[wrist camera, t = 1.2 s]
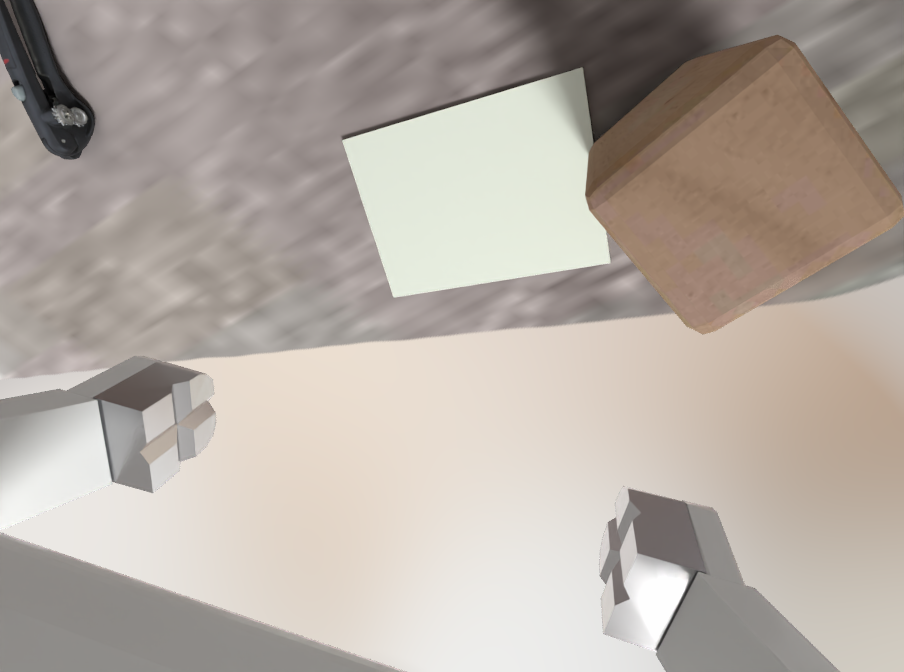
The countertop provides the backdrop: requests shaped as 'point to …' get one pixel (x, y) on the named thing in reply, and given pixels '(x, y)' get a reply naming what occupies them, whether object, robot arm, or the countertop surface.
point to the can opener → (55, 107)
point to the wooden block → (737, 182)
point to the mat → (482, 189)
